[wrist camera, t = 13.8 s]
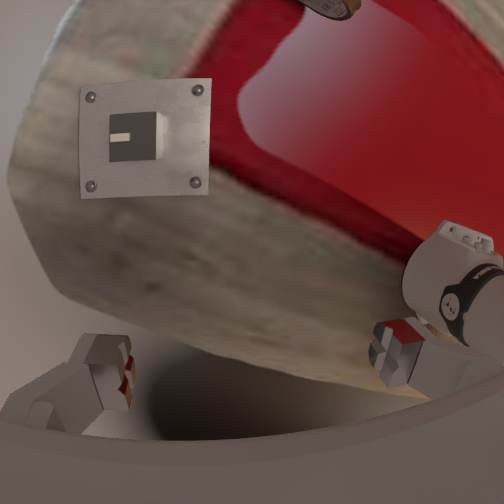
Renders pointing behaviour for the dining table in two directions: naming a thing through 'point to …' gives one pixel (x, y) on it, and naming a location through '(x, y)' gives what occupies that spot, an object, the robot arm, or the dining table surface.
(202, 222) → the dining table surface
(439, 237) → the robot arm
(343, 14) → the tin
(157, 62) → the dining table surface
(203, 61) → the dining table surface
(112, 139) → the labeled dark box
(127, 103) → the hub plate
